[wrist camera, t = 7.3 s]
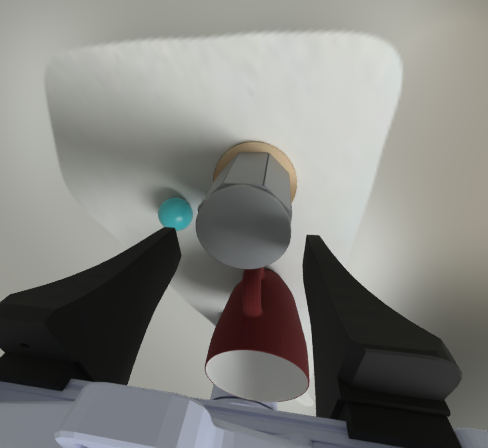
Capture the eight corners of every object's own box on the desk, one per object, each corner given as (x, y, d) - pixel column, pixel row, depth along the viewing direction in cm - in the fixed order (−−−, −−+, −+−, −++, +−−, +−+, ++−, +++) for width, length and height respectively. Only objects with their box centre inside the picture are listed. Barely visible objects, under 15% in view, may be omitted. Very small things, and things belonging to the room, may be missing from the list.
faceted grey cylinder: (285, 216, 20) (287, 272, 15) (223, 213, 21) (202, 265, 15) (290, 152, 17) (295, 191, 12) (218, 151, 18) (188, 187, 12)
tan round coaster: (292, 220, 21) (293, 223, 21) (218, 217, 22) (217, 219, 22) (300, 141, 17) (301, 143, 17) (210, 141, 18) (208, 143, 18)
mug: (211, 240, 24) (173, 329, 15) (290, 228, 22) (294, 323, 13) (240, 307, 29) (223, 400, 21) (305, 302, 27) (316, 404, 19)
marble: (199, 220, 23) (188, 238, 20) (170, 218, 23) (156, 236, 21) (194, 192, 21) (182, 208, 19) (163, 191, 21) (147, 206, 19)
